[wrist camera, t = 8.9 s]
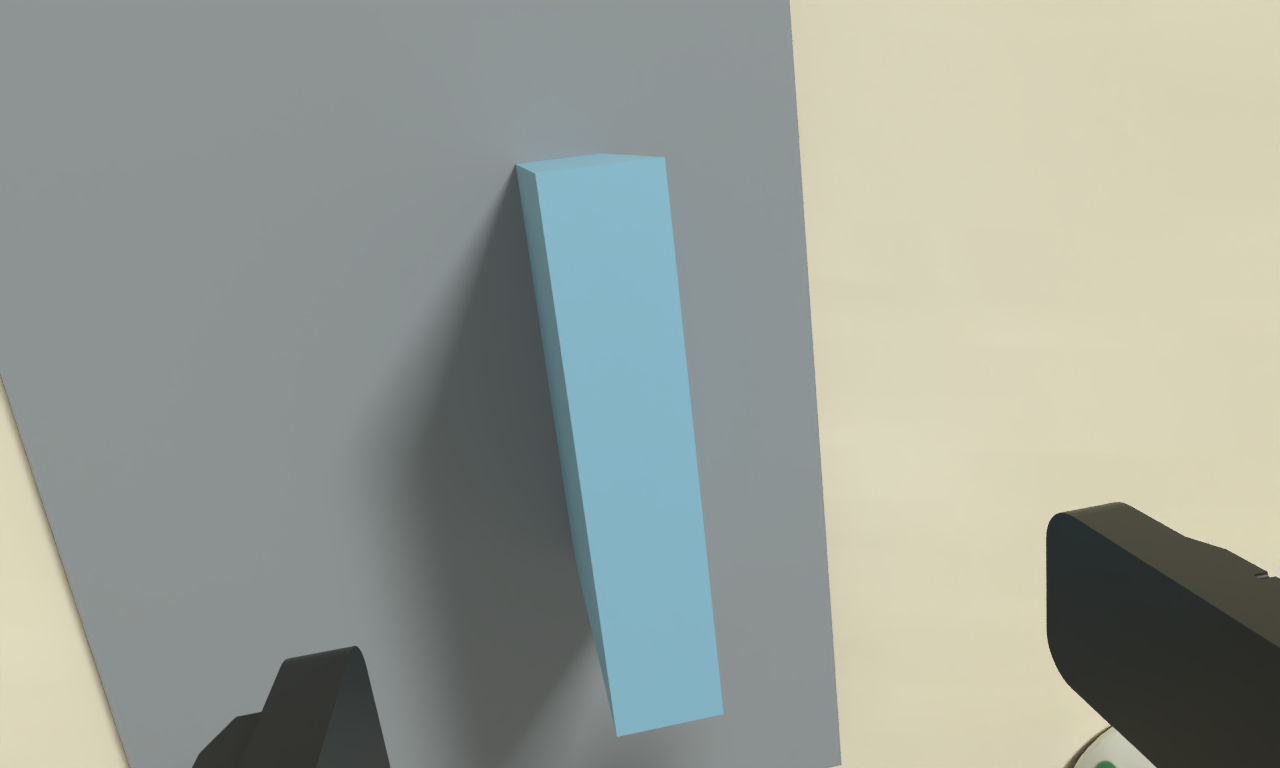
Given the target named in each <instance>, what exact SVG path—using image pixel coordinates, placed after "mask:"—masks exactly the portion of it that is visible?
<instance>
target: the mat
mask: <svg viewBox="0 0 1280 768" xmlns="http://www.w3.org/2000/svg"><path fill="white" fill-rule="evenodd" d="M600 153H602V154H619V155H636V156H653V157H665V163H666V172H667V181H668V191H669V200H670V210H671V219H672V229H673V238H674V248H675V257H676V267H677V276H678V286H679V295H680V305H681V314H682V324H683V333H684V343H685V352H686V362H687V371H688V381H689V390H690V400H691V409H692V419H693V428H694V438H695V447H696V457H697V466H698V476H699V485H700V494H701V504H702V513H703V523H704V532H705V542H706V551H707V561H708V570H709V580H710V589H711V599H712V608H713V618H714V627H715V637H716V646H717V656H718V665H719V675H720V684H721V694H722V703H723V713H724V714H722V715H717V716H712V717H708V718H703V719H698V720H694V721H689V722H684V723H680V724H675V725H670V726H666V727H661V728H656V729H652V730H647V731H642V732H638V733H633V734H628V735H624V736H619V737H617V735H616V731H615V727H614V723H613V718H612V714H611V710H610V706H609V701H608V697H607V693H606V688H605V684H604V680H603V676H602V671H601V667H600V663H599V659H598V654H597V650H596V646H595V642H594V637H593V633H592V629H591V625H590V620H589V616H588V612H587V608H586V603H585V599H584V595H583V590H582V586H581V582H580V578H579V573H578V569H577V565H576V561H575V556H574V550H573V543H572V537H571V530H570V523H569V517H568V510H567V503H566V497H565V490H564V484H563V477H562V470H561V464H560V457H559V450H558V444H557V437H556V430H555V424H554V417H553V410H552V404H551V397H550V391H549V384H548V377H547V371H546V364H545V357H544V351H543V344H542V337H541V331H540V324H539V317H538V311H537V304H536V298H535V291H534V284H533V278H532V271H531V264H530V258H529V251H528V244H527V238H526V231H525V225H524V218H523V211H522V205H521V198H520V191H519V185H518V178H517V171H516V165H515V164H520V163H528V162H536V161H544V160H552V159H560V158H568V157H576V156H584V155H592V154H600ZM0 375H1V378H2V381H3V384H4V387H5V390H6V393H7V396H8V399H9V402H10V405H11V409H12V412H13V415H14V418H15V421H16V424H17V427H18V430H19V433H20V436H21V439H22V442H23V445H24V448H25V451H26V454H27V457H28V460H29V463H30V466H31V469H32V472H33V475H34V478H35V481H36V484H37V487H38V490H39V493H40V496H41V499H42V503H43V506H44V509H45V512H46V515H47V518H48V521H49V524H50V527H51V530H52V533H53V536H54V539H55V542H56V545H57V548H58V551H59V554H60V557H61V560H62V563H63V566H64V569H65V572H66V575H67V578H68V581H69V584H70V587H71V590H72V593H73V597H74V600H75V603H76V606H77V609H78V612H79V615H80V618H81V621H82V624H83V627H84V630H85V633H86V636H87V639H88V642H89V645H90V648H91V651H92V654H93V657H94V660H95V663H96V666H97V669H98V672H99V675H100V678H101V681H102V684H103V687H104V690H105V694H106V697H107V700H108V703H109V706H110V709H111V712H112V715H113V718H114V721H115V724H116V727H117V730H118V733H119V736H120V739H121V742H122V745H123V748H124V751H125V754H126V757H127V760H128V763H129V766H130V768H192V767H193V765H194V763H195V761H196V759H197V757H198V755H199V753H200V752H201V751H202V750H203V749H204V748H205V747H206V746H207V745H208V744H209V743H210V742H211V741H212V740H213V739H214V738H215V737H216V736H217V735H218V734H219V733H220V732H221V731H222V730H223V729H224V728H225V727H226V726H227V725H228V724H229V723H230V722H231V721H232V720H233V719H234V718H235V717H237V716H242V715H247V714H253V713H258V712H262V709H263V707H264V705H265V702H266V700H267V697H268V695H269V693H270V690H271V688H272V686H273V683H274V681H275V678H276V676H277V674H278V671H279V669H280V667H281V665H282V663H283V661H284V660H285V659H288V658H293V657H299V656H304V655H309V654H314V653H320V652H325V651H330V650H335V649H341V648H346V647H351V646H357V647H358V648H359V649H360V650H361V652H362V654H363V657H364V660H365V663H366V666H367V670H368V675H369V679H370V683H371V687H372V691H373V696H374V700H375V704H376V708H377V712H378V717H379V721H380V725H381V729H382V733H383V738H384V742H385V746H386V750H387V754H388V759H389V763H390V768H829V767H834V766H838V765H841V752H840V737H839V722H838V708H837V693H836V678H835V664H834V649H833V634H832V619H831V605H830V590H829V575H828V561H827V546H826V531H825V517H824V502H823V487H822V472H821V458H820V443H819V428H818V414H817V399H816V384H815V369H814V355H813V340H812V325H811V311H810V296H809V281H808V267H807V252H806V237H805V222H804V208H803V193H802V178H801V164H800V149H799V134H798V120H797V105H796V90H795V75H794V61H793V46H792V31H791V17H790V2H789V0H0Z"/></svg>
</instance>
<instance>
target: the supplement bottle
mask: <svg viewBox="0 0 1280 768" xmlns="http://www.w3.org/2000/svg"><path fill="white" fill-rule="evenodd" d="M1074 768H1156V767H1155V766H1154V765H1153V764H1152V763H1151V762H1150V761H1149V760H1148V759H1147V758H1146V757H1145V756H1144V755H1142V754H1141V753H1140V752H1139V751H1138V750H1137V749H1136V748H1135V747H1134V746H1133V745H1132V744H1131V743H1130V742H1129V741H1127V740H1126V739H1125V738H1124V737H1123V736H1122V735H1121V734H1120V733H1119V732H1118V731H1117V730H1116V729H1115V728H1114V727H1111V728H1110V729H1108V730H1107V731H1106V732H1104V733H1103V734H1102V735H1100V736H1099V737H1098V738H1097V739H1096V740H1095V741H1094V742H1093V743H1092V744H1091V745H1090V746H1089V747H1088V748H1087V750H1086V751H1085V752H1084V753H1083V754H1082V755H1081V757H1080V758H1079V760H1078V762H1077V763H1076V765H1075V766H1074Z"/></svg>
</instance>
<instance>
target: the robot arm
mask: <svg viewBox="0 0 1280 768" xmlns="http://www.w3.org/2000/svg"><path fill="white" fill-rule="evenodd" d="M1046 580H1047V639H1048V644H1049V648H1050V652H1051V655H1052V658H1053V660H1054V662H1055V665H1056V667H1057V669H1058V670H1059V672H1060V674H1061V675H1062V677H1063V679H1064V680H1065V681H1066V682H1067V684H1068V685H1069V686H1070V687H1071V688H1072V689H1073V690H1074V691H1075V692H1076V693H1077V694H1078V695H1079V696H1081V697H1082V698H1083V699H1084V700H1085V701H1086V702H1087V703H1088V704H1089V705H1090V706H1091V707H1092V708H1093V709H1094V710H1095V711H1097V712H1098V713H1099V714H1100V715H1101V716H1102V717H1103V718H1104V719H1105V720H1106V721H1107V722H1108V723H1109V724H1110V725H1111V726H1113V727H1114V728H1115V729H1116V730H1117V731H1118V732H1119V733H1120V734H1121V735H1122V736H1123V737H1124V738H1125V739H1126V740H1127V741H1129V742H1130V743H1131V744H1132V745H1133V746H1134V747H1135V748H1136V749H1137V750H1138V751H1139V752H1140V753H1141V754H1142V755H1144V756H1145V757H1146V758H1147V759H1148V760H1149V761H1150V762H1151V763H1152V764H1153V765H1154V766H1155V767H1156V768H1280V579H1279V578H1278V577H1271V578H1270V577H1269V576H1268V572H1267V571H1265V570H1263V569H1261V568H1259V567H1257V566H1256V565H1254V564H1252V563H1250V562H1248V561H1246V560H1245V559H1243V558H1241V557H1239V556H1237V555H1236V554H1234V553H1232V552H1230V551H1228V550H1226V549H1223V548H1220V547H1217V546H1213V545H1210V544H1207V543H1204V542H1200V541H1197V540H1194V539H1191V538H1188V537H1185V536H1183V535H1181V534H1179V533H1178V532H1176V531H1174V530H1172V529H1170V528H1169V527H1167V526H1165V525H1163V524H1162V523H1160V522H1158V521H1156V520H1154V519H1153V518H1151V517H1149V516H1147V515H1145V514H1144V513H1142V512H1140V511H1138V510H1137V509H1135V508H1133V507H1131V506H1129V505H1127V504H1125V503H1121V502H1115V503H1109V504H1104V505H1099V506H1094V507H1088V508H1083V509H1078V510H1073V511H1067V512H1062V513H1058V514H1056V515H1055V516H1053V517H1052V519H1051V520H1050V522H1049V525H1048V528H1047V537H1046ZM192 768H390V763H389V759H388V754H387V750H386V746H385V742H384V738H383V733H382V729H381V725H380V721H379V717H378V712H377V708H376V704H375V700H374V696H373V691H372V687H371V683H370V679H369V675H368V670H367V666H366V663H365V660H364V657H363V654H362V652H361V650H360V649H359V648H358V647H357V646H351V647H346V648H341V649H335V650H330V651H325V652H320V653H314V654H309V655H304V656H299V657H293V658H288V659H285V660H284V661H283V663H282V665H281V667H280V669H279V671H278V674H277V676H276V678H275V681H274V683H273V686H272V688H271V690H270V693H269V695H268V697H267V700H266V702H265V705H264V707H263V709H262V712H258V713H253V714H247V715H242V716H237V717H235V718H234V719H233V720H232V721H231V722H230V723H229V724H228V725H227V726H226V727H225V728H224V729H223V730H222V731H221V732H220V733H219V734H218V735H217V736H216V737H215V738H214V739H213V740H212V741H211V742H210V743H209V744H208V745H207V746H206V747H205V748H204V749H203V750H202V751H201V752H200V753H199V755H198V757H197V759H196V761H195V763H194V765H193V767H192Z"/></svg>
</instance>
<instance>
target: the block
mask: <svg viewBox="0 0 1280 768" xmlns="http://www.w3.org/2000/svg"><path fill="white" fill-rule="evenodd" d="M515 165H516V171H517V178H518V185H519V191H520V198H521V205H522V211H523V218H524V225H525V231H526V238H527V244H528V251H529V258H530V264H531V271H532V278H533V284H534V291H535V298H536V304H537V311H538V317H539V324H540V331H541V337H542V344H543V351H544V357H545V364H546V371H547V377H548V384H549V391H550V397H551V404H552V410H553V417H554V424H555V430H556V437H557V444H558V450H559V457H560V464H561V470H562V477H563V484H564V490H565V497H566V503H567V510H568V517H569V523H570V530H571V537H572V543H573V550H574V556H575V561H576V565H577V569H578V573H579V578H580V582H581V586H582V590H583V595H584V599H585V603H586V608H587V612H588V616H589V620H590V625H591V629H592V633H593V637H594V642H595V646H596V650H597V654H598V659H599V663H600V667H601V671H602V676H603V680H604V684H605V688H606V693H607V697H608V701H609V706H610V710H611V714H612V718H613V723H614V727H615V731H616V735H617V737H619V736H624V735H628V734H633V733H638V732H642V731H647V730H652V729H656V728H661V727H666V726H670V725H675V724H680V723H684V722H689V721H694V720H698V719H703V718H708V717H712V716H717V715H722V714H724V713H723V703H722V694H721V684H720V675H719V665H718V656H717V646H716V637H715V627H714V618H713V608H712V599H711V589H710V580H709V570H708V561H707V551H706V542H705V532H704V523H703V513H702V504H701V494H700V485H699V476H698V466H697V457H696V447H695V438H694V428H693V419H692V409H691V400H690V390H689V381H688V371H687V362H686V352H685V343H684V333H683V324H682V314H681V305H680V295H679V286H678V276H677V267H676V257H675V248H674V238H673V229H672V219H671V210H670V200H669V191H668V181H667V172H666V163H665V157H653V156H636V155H619V154H602V153H600V154H592V155H584V156H576V157H568V158H560V159H552V160H544V161H536V162H528V163H520V164H515Z"/></svg>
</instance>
